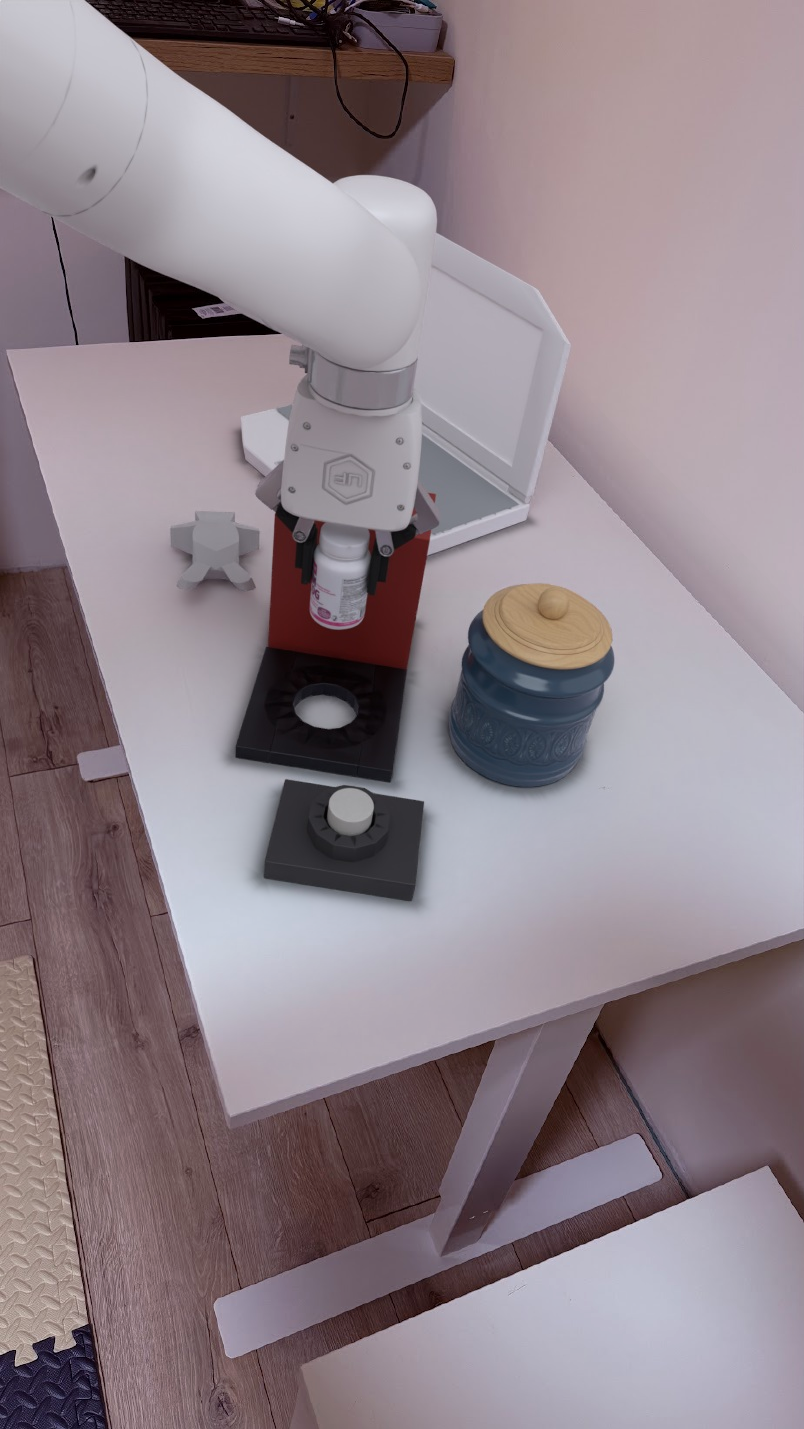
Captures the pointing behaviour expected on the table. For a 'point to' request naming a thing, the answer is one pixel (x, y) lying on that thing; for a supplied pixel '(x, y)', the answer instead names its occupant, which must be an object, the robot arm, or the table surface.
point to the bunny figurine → (215, 548)
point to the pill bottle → (340, 576)
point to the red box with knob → (385, 614)
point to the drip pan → (337, 750)
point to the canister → (530, 684)
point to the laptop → (469, 396)
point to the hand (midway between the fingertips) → (340, 578)
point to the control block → (345, 843)
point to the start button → (350, 811)
